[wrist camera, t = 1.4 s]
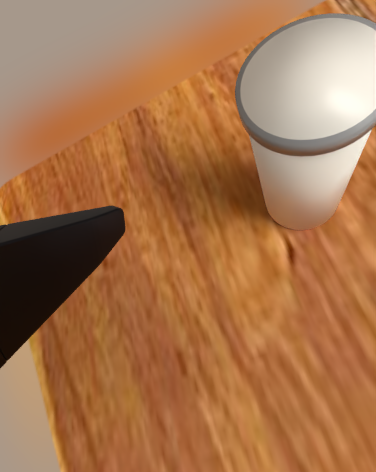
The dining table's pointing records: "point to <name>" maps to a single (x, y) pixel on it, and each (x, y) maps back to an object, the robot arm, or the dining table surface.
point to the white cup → (309, 113)
